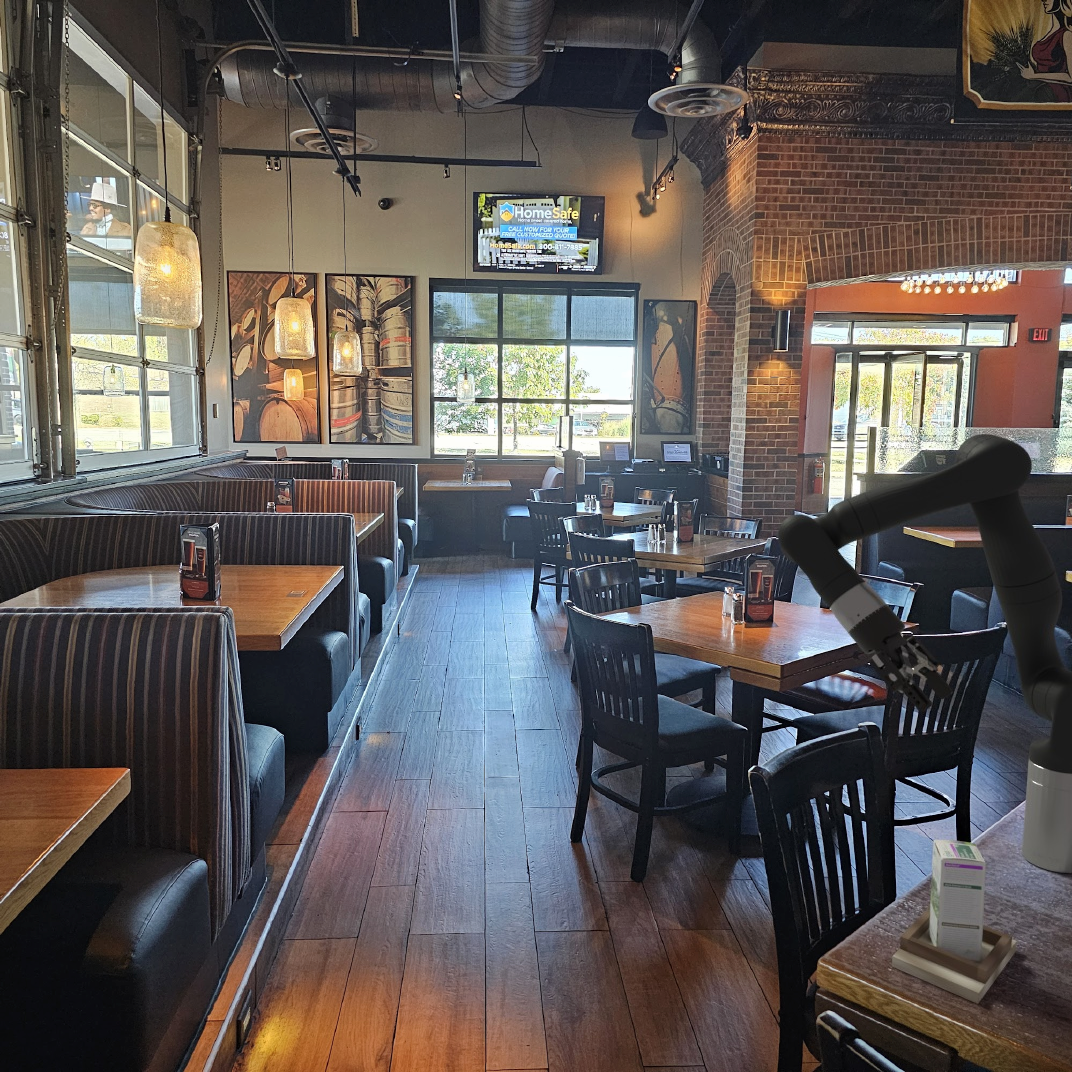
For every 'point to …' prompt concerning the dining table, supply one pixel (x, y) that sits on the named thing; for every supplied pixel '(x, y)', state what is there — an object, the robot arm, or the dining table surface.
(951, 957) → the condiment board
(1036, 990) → the dining table surface
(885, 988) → the dining table surface
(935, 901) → the syrup box
